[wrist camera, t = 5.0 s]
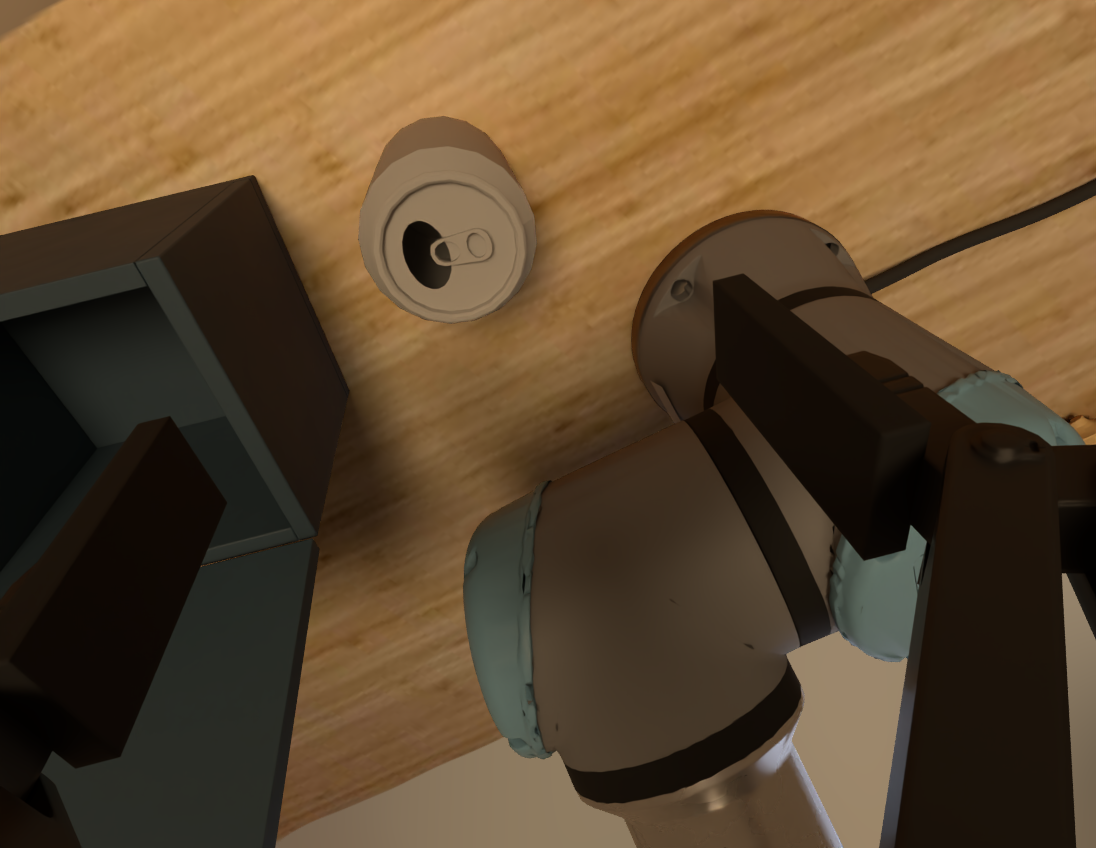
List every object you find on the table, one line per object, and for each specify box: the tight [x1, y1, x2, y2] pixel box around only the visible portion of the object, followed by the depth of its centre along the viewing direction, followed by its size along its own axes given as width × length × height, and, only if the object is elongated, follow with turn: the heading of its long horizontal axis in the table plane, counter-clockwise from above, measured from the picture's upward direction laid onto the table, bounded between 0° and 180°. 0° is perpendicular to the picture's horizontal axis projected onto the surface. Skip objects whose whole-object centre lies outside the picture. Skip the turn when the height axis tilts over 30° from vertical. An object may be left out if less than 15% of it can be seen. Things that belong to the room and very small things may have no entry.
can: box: [358, 116, 537, 324], centre depth 30 cm, size 8×8×12 cm
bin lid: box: [41, 539, 319, 848], centre depth 23 cm, size 15×17×1 cm
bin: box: [0, 175, 349, 600], centre depth 31 cm, size 14×17×14 cm
